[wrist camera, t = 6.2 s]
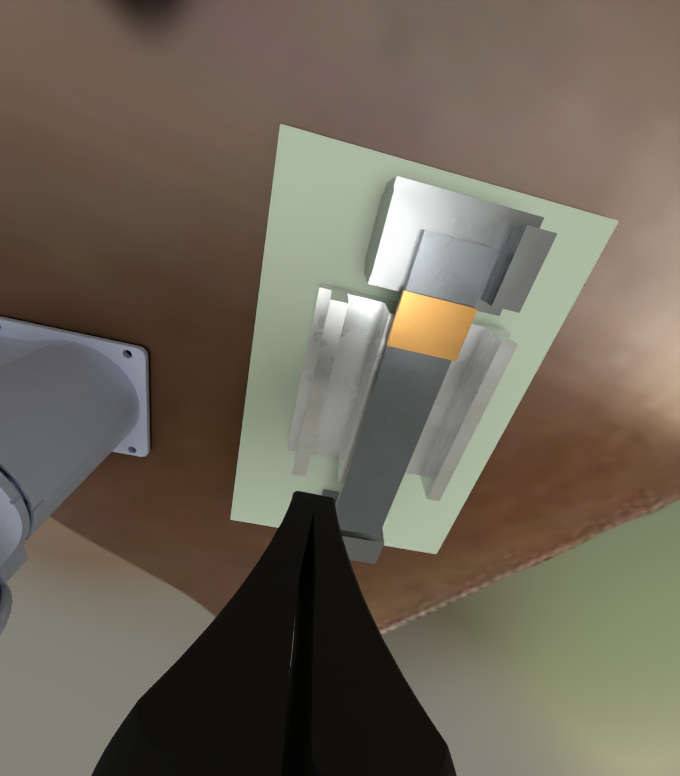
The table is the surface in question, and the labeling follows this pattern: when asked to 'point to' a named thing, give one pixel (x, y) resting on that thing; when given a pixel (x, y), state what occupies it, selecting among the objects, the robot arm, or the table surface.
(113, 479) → the table surface
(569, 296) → the pale green board
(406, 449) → the bar
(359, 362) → the heat sink
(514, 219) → the hinge and catch
